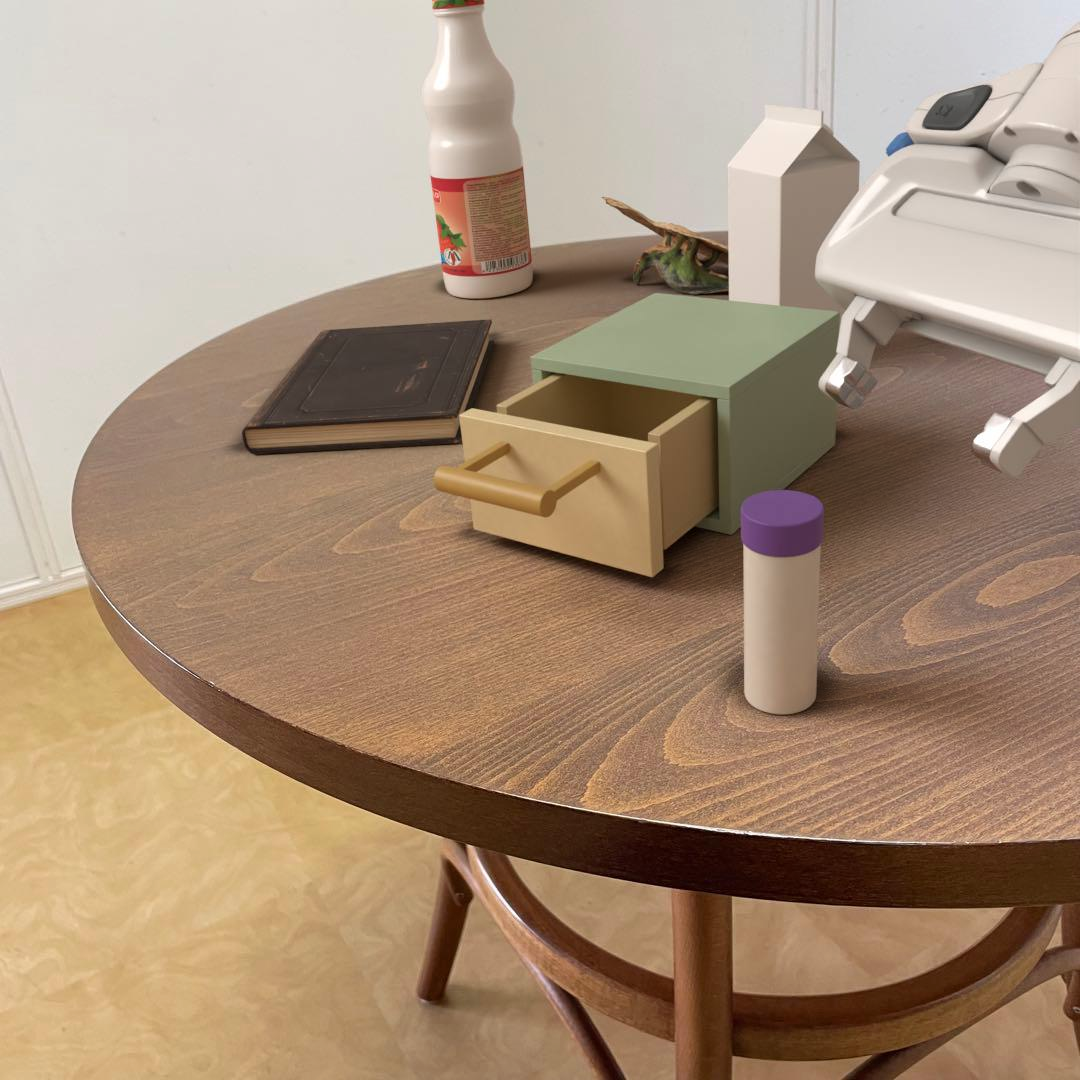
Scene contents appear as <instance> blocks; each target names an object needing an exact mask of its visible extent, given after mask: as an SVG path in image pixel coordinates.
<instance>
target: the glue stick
mask: <svg viewBox="0 0 1080 1080" xmlns="http://www.w3.org/2000/svg"><path fill="white" fill-rule="evenodd" d="M824 527H825V507H824V504H823V503H822V501H821V500H820V499H819V498H817V497H816V496H814V495H812V494H810V493H806V492H802V491H797V490H789V489H784V490H773V491H766V492H762V493H758V494H755V495H753V496H751V497H749V498H748V499H746V500H745V501H744V502H743V504H742V506H741V527H740V541H741V542H742V545H743V547H742V548H743V553H742V555H743V556H742V557H743V678H744V679H743V692H744V694H743V695H744V698H745V699H746V701H747V702H748V704H750V705H751V706H752V707H754V708H755V709H757V710H758V711H762V712H764V713H766V714H771V715H772V714H773V715H783V716H784V715H793V714H797V713H800V712H803V711H805V710H807V709H809V708H810V707H811V706H812V705H814V702H815V701H816V698H817V683H818V681H817V680H818V679H817V678H818V677H817V676H818V649H819V646H818V645H819V617H820V616H819V614H820V612H819V611H820V584H821V583H820V582H821V579H820V578H821V552H822V551H821V550H822V549H821V547H822V543H823V541H824V533H825V532H824V531H825V530H824V529H825V528H824Z"/></svg>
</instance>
